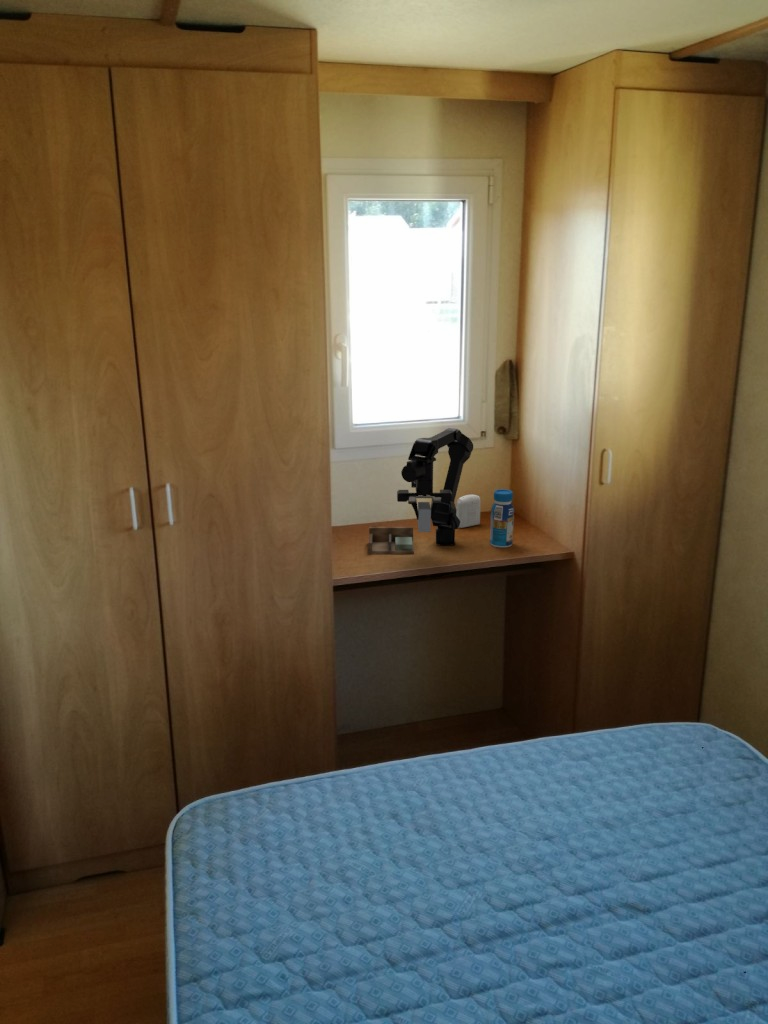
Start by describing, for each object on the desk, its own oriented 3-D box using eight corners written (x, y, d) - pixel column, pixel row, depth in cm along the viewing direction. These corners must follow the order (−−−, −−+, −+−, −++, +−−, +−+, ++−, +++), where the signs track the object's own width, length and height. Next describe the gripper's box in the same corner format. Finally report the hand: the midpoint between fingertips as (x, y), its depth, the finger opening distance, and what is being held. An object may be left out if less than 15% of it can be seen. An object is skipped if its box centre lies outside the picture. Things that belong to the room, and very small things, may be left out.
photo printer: (474, 521, 311) (475, 491, 307) (481, 524, 308) (482, 494, 304) (454, 526, 306) (454, 495, 302) (460, 529, 302) (461, 498, 299)
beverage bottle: (485, 541, 288) (487, 489, 282) (506, 539, 291) (508, 487, 285) (495, 549, 280) (497, 495, 275) (516, 546, 283) (519, 493, 277)
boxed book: (429, 523, 277) (429, 502, 274) (430, 531, 268) (430, 509, 266) (417, 523, 277) (418, 502, 274) (418, 532, 268) (419, 509, 266)
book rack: (413, 542, 288) (413, 526, 286) (413, 553, 276) (414, 537, 274) (369, 542, 288) (369, 526, 286) (368, 553, 276) (368, 537, 275)
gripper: (450, 469, 275) (449, 512, 279) (396, 470, 275) (396, 512, 279) (452, 478, 264) (451, 522, 269) (397, 478, 264) (397, 522, 269)
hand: (424, 519), depth 272 cm, fingers closed on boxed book, 4 cm apart
